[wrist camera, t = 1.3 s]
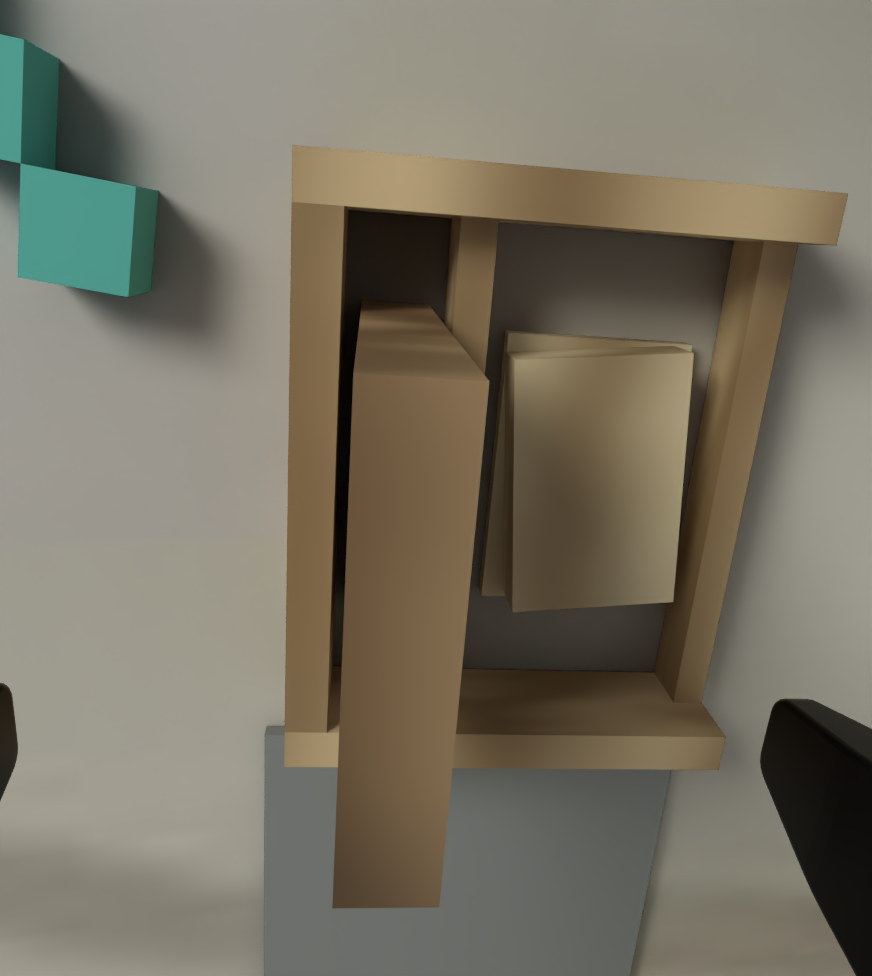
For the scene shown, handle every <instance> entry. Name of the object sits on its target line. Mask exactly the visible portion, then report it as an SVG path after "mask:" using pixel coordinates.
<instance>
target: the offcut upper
mask: <svg viewBox="0 0 872 976" xmlns="http://www.w3.org/2000/svg"><path fill="white" fill-rule="evenodd" d="M693 359H694V353H693V352H690V351H687V350H684V349H682V348H679V347H676V346H654V347H627V348H601V349H574V350H548V351H521V352H505V510H504V593H505V595H506V598H507V600H508V603H509V605H510V608H511V610H512V612H527V611H543V610H558V609H574V608H589V607H605V606H620V605H635V604H651V603H666V602H673V598H674V586H675V574H676V562H677V550H678V538H679V527H680V515H681V503H682V491H683V479H684V467H685V455H686V443H687V431H688V419H689V407H690V395H691V383H692V371H693Z"/></svg>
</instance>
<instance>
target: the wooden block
mask: <svg viewBox="0 0 872 976" xmlns="http://www.w3.org/2000/svg"><path fill="white" fill-rule="evenodd" d="M488 392H489V380H488V379H487V378H486V376H485V375H484V374H483V372H482V371H481V370H480V369H479V367H478V366H477V365H476V364H475V362H474V361H473V360H472V359H471V357H470V356H469V355H468V354H467V352H466V351H465V350H464V349H463V347H462V346H461V345H460V343H459V342H458V341H457V340H456V338H455V337H454V336H453V335H452V333H451V332H450V331H449V330H448V328H447V327H446V326H445V325H444V323H443V322H442V321H441V320H440V318H439V317H438V316H437V314H436V313H435V312H434V311H433V309H432V308H431V307H430V306H429V305H428V304H413V303H398V302H384V301H369V300H362V305H361V314H360V322H359V330H358V339H357V347H356V355H355V364H354V372H353V394H352V420H351V445H350V471H349V496H348V521H347V547H346V572H345V598H344V623H343V649H342V674H341V699H340V725H339V750H338V776H337V801H336V827H335V852H334V877H333V903H332V909H341V908H429V907H439V905H440V895H441V884H442V874H443V863H444V853H445V842H446V832H447V821H448V811H449V800H450V790H451V779H452V769H453V758H454V748H455V737H456V727H457V716H458V706H459V696H460V685H461V675H462V664H463V654H464V643H465V633H466V622H467V612H468V601H469V591H470V580H471V570H472V559H473V549H474V538H475V528H476V517H477V507H478V496H479V486H480V476H481V465H482V455H483V444H484V434H485V423H486V413H487V402H488Z"/></svg>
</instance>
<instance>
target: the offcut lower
mask: <svg viewBox="0 0 872 976" xmlns="http://www.w3.org/2000/svg"><path fill="white" fill-rule="evenodd" d="M654 346H676V347H679V348H682V349H684V350H687V351H690V352H691V351H692V345H690V344H688V343H683V342H669V341H654V340H639V339H625V338H610V337H595V336H581V335H566V334H551V333H537V332H522V331H507V330H506V331H505V341H504V350H503V360H502V370H501V379H500V389H499V399H498V409H497V418H496V428H495V438H494V447H493V457H492V467H491V477H490V486H489V496H488V506H487V516H486V525H485V535H484V545H483V554H482V564H481V574H480V584H479V590H480V593H481V596H495V597H506V595H505V593H504V510H505V352H521V351H548V350H574V349H601V348H627V347H654Z"/></svg>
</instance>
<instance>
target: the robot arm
mask: <svg viewBox="0 0 872 976" xmlns="http://www.w3.org/2000/svg"><path fill="white" fill-rule="evenodd" d="M17 754H18V742H17V733H16V724H15V716H14V707H13V698H12V693H11V691H10V689H9V687H8V686H7V685H5V684H4V683H0V800H1V798H2V796H3V793H4V791H5V789H6V786H7V784H8V781H9V779H10V777H11V774H12V772H13V769H14V767H15V763H16V760H17ZM760 763H761V770H762V774H763V777H764V780H765V782H766V785H767V787H768V789H769V792H770V794H771V797H772V799H773V801H774V804H775V806H776V809H777V811H778V813H779V816H780V818H781V821H782V823H783V825H784V828H785V830H786V833H787V835H788V837H789V840H790V842H791V845H792V847H793V849H794V852H795V854H796V857H797V859H798V861H799V864H800V866H801V869H802V871H803V873H804V876H805V878H806V880H807V882H808V884H809V887H810V889H811V891H812V893H813V895H814V897H815V899H816V901H817V903H818V905H819V907H820V909H821V911H822V913H823V915H824V917H825V919H826V920H827V922H828V924H829V926H830V928H831V930H832V932H833V933H834V935H835V937H836V939H837V941H838V943H839V945H840V947H841V948H842V950H843V952H844V954H845V956H846V958H847V960H848V962H849V963H850V965H851V967H852V969H853V971H854V973H855V975H856V976H872V729H871V728H869V727H867V726H865V725H863V724H861V723H859V722H857V721H855V720H853V719H851V718H849V717H847V716H844V715H842V714H840V713H838V712H836V711H834V710H832V709H830V708H828V707H826V706H824V705H822V704H820V703H818V702H816V701H814V700H809V699H780V700H779V701H777V702H776V703H775V704H774V706H773V708H772V711H771V715H770V719H769V723H768V727H767V731H766V735H765V739H764V743H763V747H762V751H761V758H760Z"/></svg>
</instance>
